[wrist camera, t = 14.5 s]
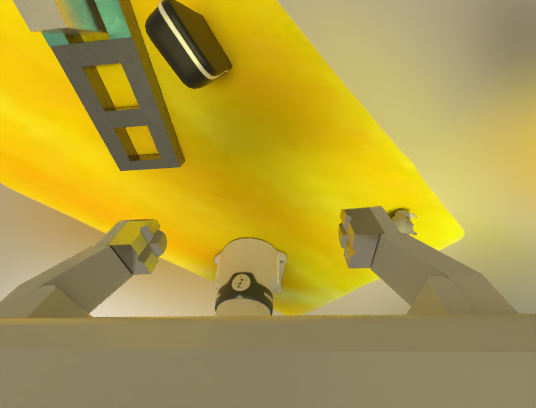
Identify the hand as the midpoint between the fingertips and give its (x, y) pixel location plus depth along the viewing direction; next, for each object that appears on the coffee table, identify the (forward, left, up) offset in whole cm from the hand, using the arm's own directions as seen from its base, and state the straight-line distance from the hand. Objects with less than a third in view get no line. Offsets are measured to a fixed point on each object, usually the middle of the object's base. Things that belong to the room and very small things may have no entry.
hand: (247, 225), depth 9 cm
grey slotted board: (+4, +22, -28) cm, 36 cm away
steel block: (+12, +21, -28) cm, 37 cm away
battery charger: (+7, +8, -28) cm, 30 cm away
